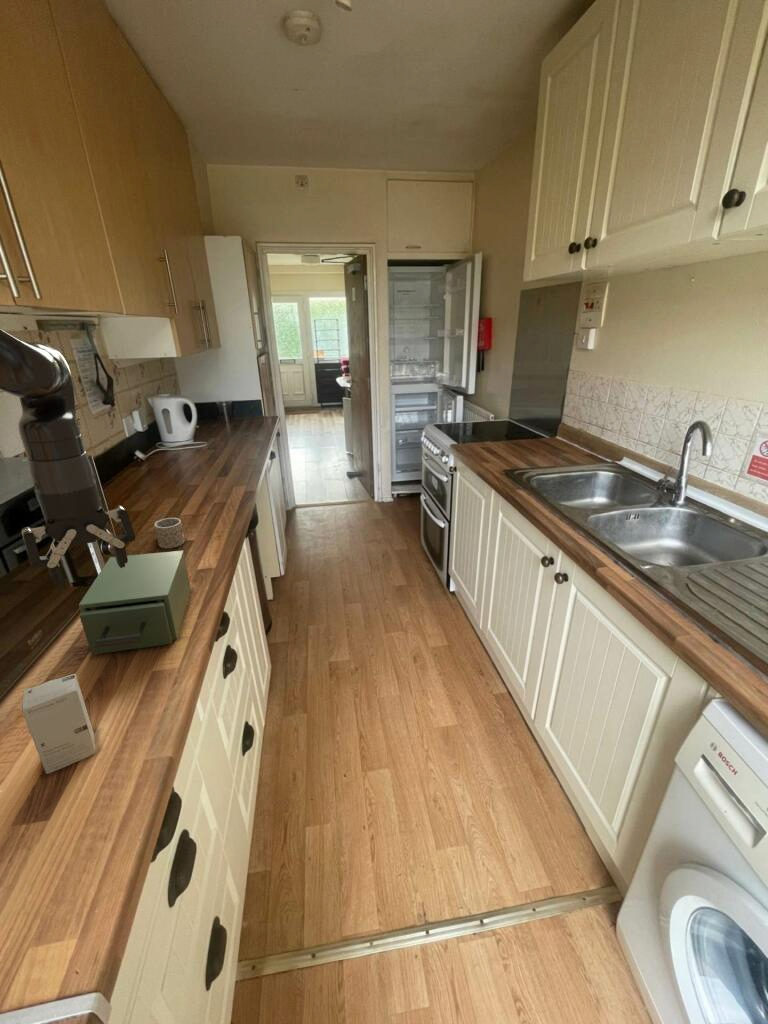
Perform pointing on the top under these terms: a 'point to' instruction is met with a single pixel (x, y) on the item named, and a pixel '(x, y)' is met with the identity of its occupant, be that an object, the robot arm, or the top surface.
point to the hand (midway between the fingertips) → (92, 574)
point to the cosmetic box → (58, 722)
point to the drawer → (126, 626)
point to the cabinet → (143, 584)
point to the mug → (169, 532)
